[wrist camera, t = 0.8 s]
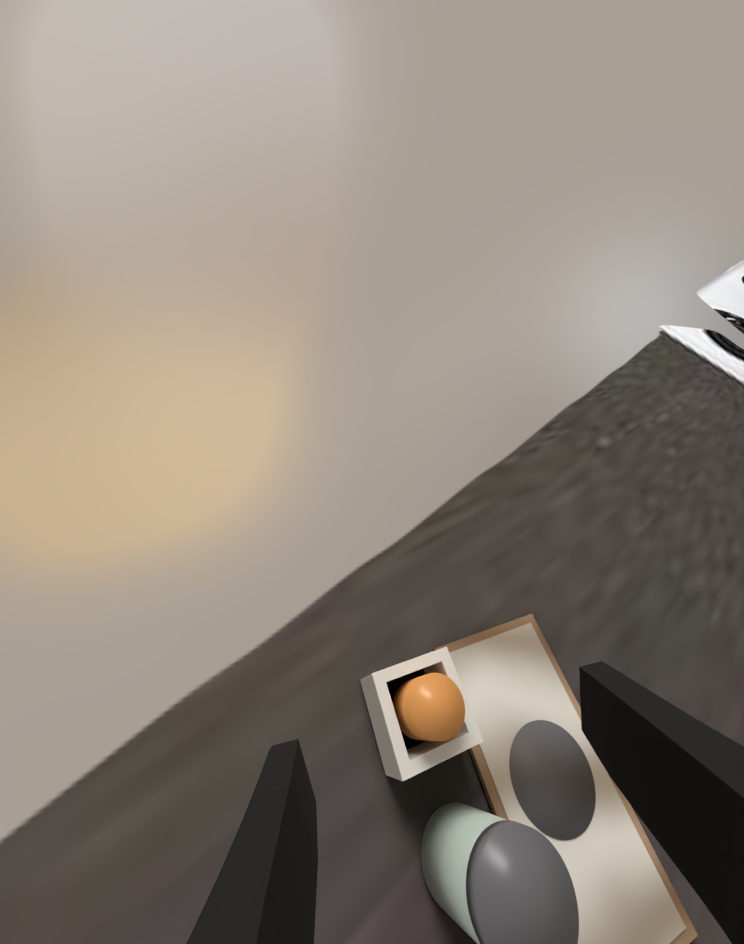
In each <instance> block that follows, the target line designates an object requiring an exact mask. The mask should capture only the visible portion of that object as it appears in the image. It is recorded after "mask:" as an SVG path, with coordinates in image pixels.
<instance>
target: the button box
mask: <svg viewBox="0 0 744 944" xmlns="http://www.w3.org/2000/svg"><path fill="white" fill-rule="evenodd" d="M420 669H424V672H425V674H429V673H441V674H443V675H445V676H447V677H449V678H450V679H451V680H452V681H454V683H455V684H456V685H457V686H458V688H459V690H460V691H461V694H462V696H463V699H464V704H465V718H464V722H463V725H462V727H461V729H460V731H459V732H458V733H457V735H456V736H454V737H453V738H452V739H450V740H447V741H425V742H423V743H421V744H419V745H417V746H414V747H412V748H410V749H408V750H406V747H405V743H404V740H403V737H402V733H401V730H400V727H399V723H398V720H397V717H396V713H395V710H394V707H393V703H392V700H391V697H390V693H389V690H388V687H387V684H386V682H388V681H391V680H394V679H396V678H399V677H402V676H404V675H407V674H410V673H412V672H415V671H418V670H420ZM360 682H361V685H362V689H363V693H364V697H365V700H366V704H367V708H368V711H369V715H370V719H371V722H372V726H373V730H374V733H375V737H376V741H377V745H378V748H379V752H380V756H381V759H382V763H383V767H384V770H385V774H386V775H387V776H390V777H392V778H395V779H398V780H400V781H405V780H407V779H409V778H411V777H413V776H415V775H417V774H419V773H421V772H423V771H425V770H427V769H429V768H431V767H433V766H435V765H437V764H439V763H441V762H443V761H445V760H447V759H449V758H451V757H453V756H455V755H457V754H459V753H461V752H463V751H465V750H467V749H469V748H472V747H474V746H476V745H478V744H480V743H482V742H484V741H483V738H482V736H481V733H480V731H479V728H478V726H477V723H476V720H475V718H474V715H473V713H472V710H471V708H470V705H469V702H468V700H467V697H466V695H465V692H464V690H463V687H462V684H461V682H460V679H459V677H458V674H457V672H456V669H455V666H454V664H453V661H452V659H451V656H450V654H449V651H448V648H447V647H444V648H441V649H438V650H435V651H433V652H430V653H427V654H424V655H422V656H419V657H416V658H413V659H411V660H408V661H405V662H402V663H400V664H397V665H394V666H391V667H389V668H386V669H383V670H380V671H378V672H375V673H372V674H370V675H368V676H366V677H364V678H362V679H361V680H360Z"/></svg>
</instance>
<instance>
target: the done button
mask: <svg viewBox="0 0 744 944" xmlns="http://www.w3.org/2000/svg"><path fill="white" fill-rule="evenodd" d="M393 707H394V710H395V713H396V717H397V720H398V723H399V727H400V730H401V731H402V732H403V733H404V734H405V735H406V736H408V737H409V738H412V739H415V740H426V741H447V740H450V739H452V738H453V737H454V736H456V735H457V733H458V732H459V731H460V729H461V727H462V725H463V722H464V718H465V704H464V699H463V696H462V694H461V691H460V690H459V688H458V686H457V685H456V684H455V683H454V681H452V680H451V679H450V678H449V677H447V676H445V675H443V674H441V673H429V674H425V675H423V676H420V677H417V678H414V679H411V680H408V681H406V682H404V683H403V684H402V685H401V686H400V687H399V688H398V690H397V691H396V693H395V696H394V700H393Z"/></svg>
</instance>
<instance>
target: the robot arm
mask: <svg viewBox="0 0 744 944" xmlns="http://www.w3.org/2000/svg"><path fill="white" fill-rule="evenodd" d="M579 669H580V699H581V728H582V731H583V733H584V735H585V736H586V738H587V740H588V741H589V743H590V745H591V746H592V748H593V750H594V751H595V753H596V755H597V756H598V758H599V760H600V761H601V763H602V764H603V766H604V768H605V769H606V771H607V772H608V774H609V776H610V777H611V779H612V780H613V781H614V783H615V784H616V785H617V787H618V788H619V790H620V791H621V792H622V794H623V795H624V796H625V798H626V799H627V800H628V802H629V803H630V804H631V806H632V807H633V808H634V810H635V811H636V813H637V814H638V815H639V817H640V818H641V819H642V821H643V822H644V823H645V825H646V826H647V827H648V829H649V830H650V831H651V833H652V834H653V835H654V837H655V838H656V839H657V841H658V842H659V843H660V845H661V846H662V847H663V849H664V850H665V851H666V853H667V854H668V855H669V857H670V858H671V859H672V861H673V862H674V863H675V865H676V866H677V867H678V869H679V870H680V871H681V873H682V874H683V875H684V877H685V878H686V879H687V881H688V882H689V883H690V885H691V886H692V887H693V889H694V890H695V891H696V893H697V894H698V895H699V897H700V898H701V900H702V901H703V902H704V904H705V905H706V907H707V908H708V909H709V911H710V912H711V914H712V915H713V916H714V918H715V919H716V921H717V922H718V923H719V925H720V926H721V928H722V929H723V931H724V932H725V933H726V935H727V937H728V938H729V940H730V941H731V943H732V944H744V746H742V745H740V744H738V743H737V742H735V741H733V740H731V739H729V738H728V737H726V736H724V735H722V734H721V733H719V732H717V731H716V730H714V729H712V728H710V727H709V726H707V725H705V724H704V723H702V722H700V721H699V720H697V719H695V718H694V717H692V716H690V715H689V714H687V713H685V712H684V711H682V710H680V709H679V708H677V707H675V706H674V705H672V704H670V703H669V702H667V701H666V700H664V699H662V698H661V697H659V696H657V695H656V694H654V693H653V692H651V691H649V690H648V689H646V688H644V687H643V686H641V685H640V684H638V683H636V682H635V681H633V680H632V679H630V678H628V677H627V676H625V675H624V674H622V673H620V672H619V671H617V670H615V669H614V668H612V667H610V666H609V665H607V664H605V663H604V662H602V661H601V662H597V663H593V664H589V665H585V666H581V667H579ZM317 866H318V850H317V816H316V800H315V797H314V793H313V790H312V786H311V783H310V779H309V776H308V772H307V769H306V765H305V762H304V758H303V755H302V751H301V748H300V744H299V741H298V739H297V740H293V741H289V742H285V743H281V744H277V745H273V746H272V747H271V749H270V750H269V752H268V755H267V758H266V761H265V763H264V766H263V769H262V772H261V774H260V777H259V780H258V782H257V785H256V788H255V790H254V793H253V795H252V798H251V800H250V803H249V805H248V808H247V810H246V813H245V815H244V818H243V820H242V823H241V825H240V827H239V830H238V832H237V834H236V837H235V839H234V841H233V844H232V846H231V848H230V851H229V853H228V855H227V858H226V860H225V862H224V865H223V867H222V869H221V871H220V874H219V876H218V878H217V880H216V882H215V885H214V887H213V889H212V891H211V893H210V895H209V897H208V899H207V902H206V904H205V906H204V908H203V910H202V912H201V914H200V916H199V919H198V921H197V923H196V925H195V927H194V929H193V931H192V933H191V936H190V938H189V940H188V942H187V944H314V927H315V908H316V887H317Z"/></svg>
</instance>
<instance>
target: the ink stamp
mask: <svg viewBox="0 0 744 944" xmlns="http://www.w3.org/2000/svg"><path fill="white" fill-rule="evenodd" d="M421 865H422V871H423V875H424V879H425V882H426V885H427V887H428V889H429V892H430V893H431V895H432V897H433V898H434V900H435V901H436V902H437V904H438V905H439V906H440V907H441V908H442V909H443V910H444V911H445V912H446V913H447V914H448V915H449V916H450V917H451V918H452V919H453V920H454V921H455V922H456V923H457V924H458V925H459V926H460V927H461V928H462V929H463V930H464V931H465V932H466V933H467V934H468V935H469V936H470V937H471V938H472V939H473V940H474V941H475V942H476V943H477V944H578V935H579V913H578V905H577V899H576V894H575V889H574V886H573V883H572V879H571V877H570V874H569V871H568V869H567V867H566V865H565V863H564V861H563V859H562V857H561V856H560V854H559V852H558V851H557V850H556V848H555V847H554V846H553V844H552V843H551V842H550V841H549V840H548V839H547V838H546V837H545V836H544V835H543V834H541V833H540V832H539V831H537V830H536V829H534V828H532V827H529V826H527V825H524V824H521V823H518V822H515V821H511V820H506V819H503V818H501V817H498V816H495V815H493V814H490V813H487V812H484V811H482V810H479V809H476V808H474V807H471V806H468V805H465V804H463V803H458V802H451V803H447V804H445V805H443V806H441V807H440V808H438V809H437V810H436V811H435V812H434V813H433V814H432V816H431V817H430V819H429V821H428V823H427V825H426V827H425V830H424V833H423V837H422V843H421Z"/></svg>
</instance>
